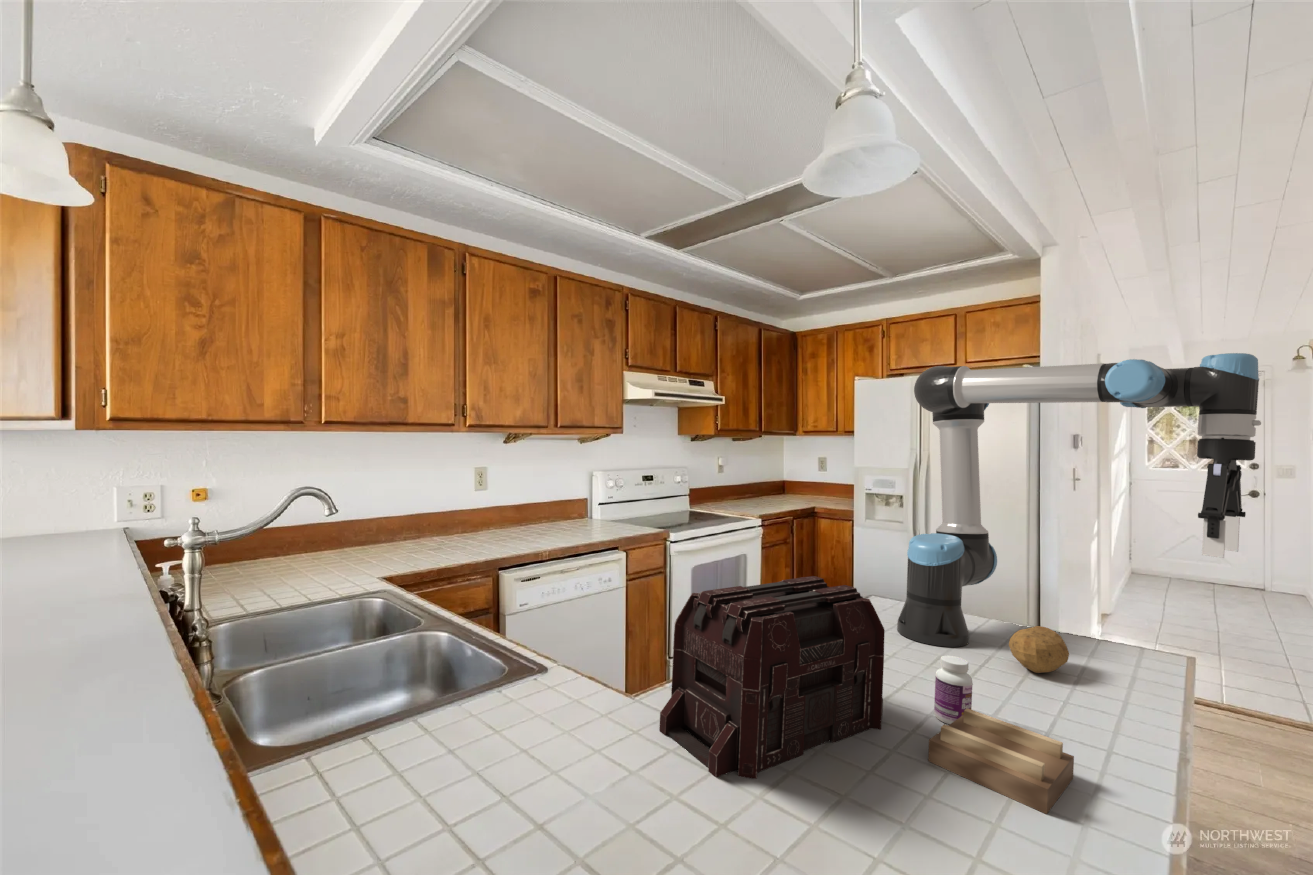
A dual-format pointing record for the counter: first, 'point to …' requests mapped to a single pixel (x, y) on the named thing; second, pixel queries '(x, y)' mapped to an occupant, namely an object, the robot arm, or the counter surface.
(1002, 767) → the display pedestal
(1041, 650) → the potato
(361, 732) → the counter surface
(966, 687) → the pill bottle
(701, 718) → the crate
